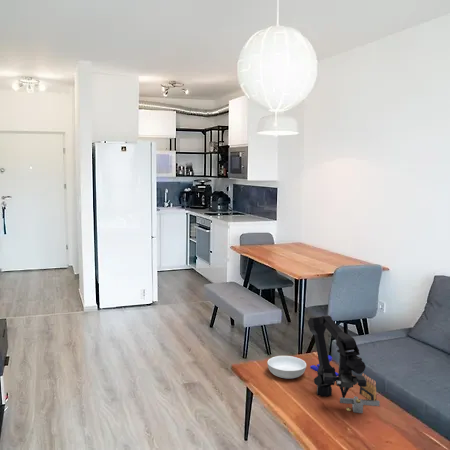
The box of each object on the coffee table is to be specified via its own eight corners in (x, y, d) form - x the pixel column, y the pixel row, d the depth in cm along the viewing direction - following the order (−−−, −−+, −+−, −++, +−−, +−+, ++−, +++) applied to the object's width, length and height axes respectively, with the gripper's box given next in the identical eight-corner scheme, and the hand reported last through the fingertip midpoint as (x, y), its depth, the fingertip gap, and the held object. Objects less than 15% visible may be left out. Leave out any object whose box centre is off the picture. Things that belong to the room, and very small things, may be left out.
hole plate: (343, 418, 207) (343, 410, 207) (339, 404, 220) (340, 397, 220) (384, 421, 205) (385, 414, 205) (378, 407, 218) (379, 400, 218)
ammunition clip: (376, 405, 220) (377, 381, 219) (372, 405, 220) (374, 381, 218) (362, 395, 230) (363, 371, 229) (359, 395, 230) (360, 372, 228)
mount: (338, 376, 252) (339, 360, 251) (328, 378, 248) (329, 362, 247) (320, 365, 265) (321, 351, 264) (310, 368, 261) (310, 353, 260)
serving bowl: (288, 364, 266) (289, 352, 265) (313, 378, 248) (314, 366, 247) (259, 371, 255) (259, 359, 254) (283, 386, 237) (283, 373, 236)
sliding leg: (353, 412, 210) (354, 401, 209) (350, 403, 218) (351, 393, 218) (362, 413, 209) (363, 402, 209) (359, 404, 218) (360, 393, 217)
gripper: (326, 370, 203) (324, 404, 205) (369, 373, 201) (367, 408, 203) (324, 360, 214) (322, 392, 216) (365, 363, 212) (363, 396, 214)
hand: (343, 397), depth 212 cm, fingers closed
